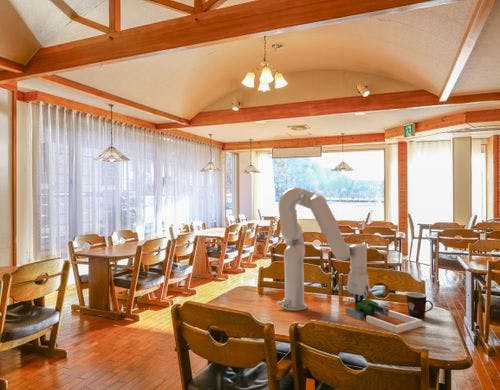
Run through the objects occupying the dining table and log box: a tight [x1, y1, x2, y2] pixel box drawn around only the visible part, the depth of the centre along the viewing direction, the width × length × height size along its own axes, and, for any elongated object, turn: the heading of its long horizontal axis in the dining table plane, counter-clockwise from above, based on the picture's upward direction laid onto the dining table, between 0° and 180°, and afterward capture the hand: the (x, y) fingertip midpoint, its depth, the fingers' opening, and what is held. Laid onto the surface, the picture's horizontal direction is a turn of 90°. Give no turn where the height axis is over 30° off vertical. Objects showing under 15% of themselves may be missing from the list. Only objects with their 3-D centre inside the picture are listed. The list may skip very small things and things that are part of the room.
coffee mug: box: [405, 291, 434, 320], centre depth 165 cm, size 12×9×10 cm
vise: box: [345, 303, 391, 321], centre depth 172 cm, size 23×9×3 cm, turn 120°
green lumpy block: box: [354, 297, 379, 316], centre depth 170 cm, size 12×6×9 cm, turn 130°
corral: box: [365, 309, 423, 334], centre depth 157 cm, size 16×16×2 cm
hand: (358, 308), depth 175 cm, fingers closed
